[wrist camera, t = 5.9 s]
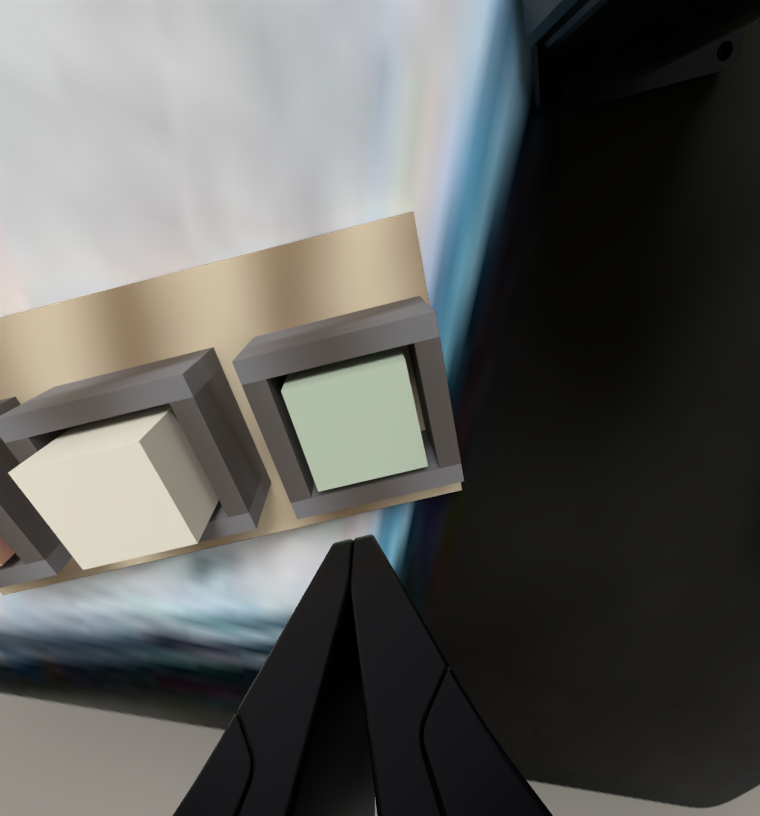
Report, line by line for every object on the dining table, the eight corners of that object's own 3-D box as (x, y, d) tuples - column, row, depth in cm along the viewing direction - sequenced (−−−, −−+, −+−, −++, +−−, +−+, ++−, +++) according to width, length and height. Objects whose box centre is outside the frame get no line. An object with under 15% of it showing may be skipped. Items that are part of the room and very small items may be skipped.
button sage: (396, 337, 15) (405, 360, 12) (416, 429, 16) (428, 466, 14) (293, 362, 15) (280, 391, 12) (323, 451, 16) (318, 492, 14)
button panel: (408, 212, 14) (429, 207, 11) (455, 475, 19) (481, 535, 16) (-166, 360, 15) (-338, 404, 11) (21, 575, 20) (-55, 655, 17)
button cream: (178, 401, 14) (138, 441, 11) (223, 491, 15) (197, 543, 13) (70, 428, 14) (7, 472, 11) (126, 514, 16) (83, 569, 13)
